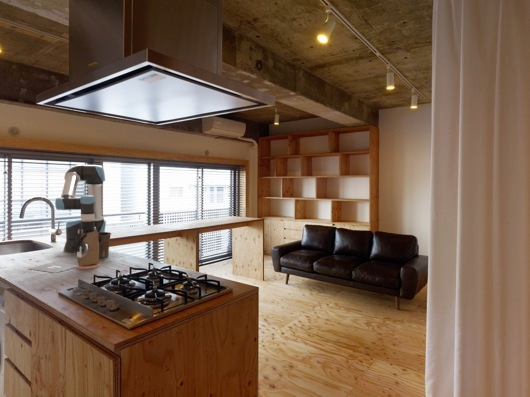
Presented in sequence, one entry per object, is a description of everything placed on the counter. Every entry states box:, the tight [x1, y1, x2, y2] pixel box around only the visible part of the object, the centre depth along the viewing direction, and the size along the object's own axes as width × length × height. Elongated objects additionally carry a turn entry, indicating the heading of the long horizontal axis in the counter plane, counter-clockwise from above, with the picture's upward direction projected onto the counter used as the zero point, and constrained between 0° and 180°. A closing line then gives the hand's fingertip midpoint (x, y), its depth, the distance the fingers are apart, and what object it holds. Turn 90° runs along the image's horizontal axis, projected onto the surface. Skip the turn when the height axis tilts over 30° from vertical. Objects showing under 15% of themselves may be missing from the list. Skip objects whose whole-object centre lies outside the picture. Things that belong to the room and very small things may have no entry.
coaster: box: [75, 262, 101, 270], centre depth 205 cm, size 13×13×1 cm
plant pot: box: [99, 231, 112, 259], centre depth 228 cm, size 16×16×16 cm
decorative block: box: [77, 231, 100, 266], centre depth 204 cm, size 11×6×20 cm, turn 125°
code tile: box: [29, 262, 78, 274], centre depth 200 cm, size 16×22×1 cm
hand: (88, 254), depth 204 cm, fingers open, 12 cm apart
